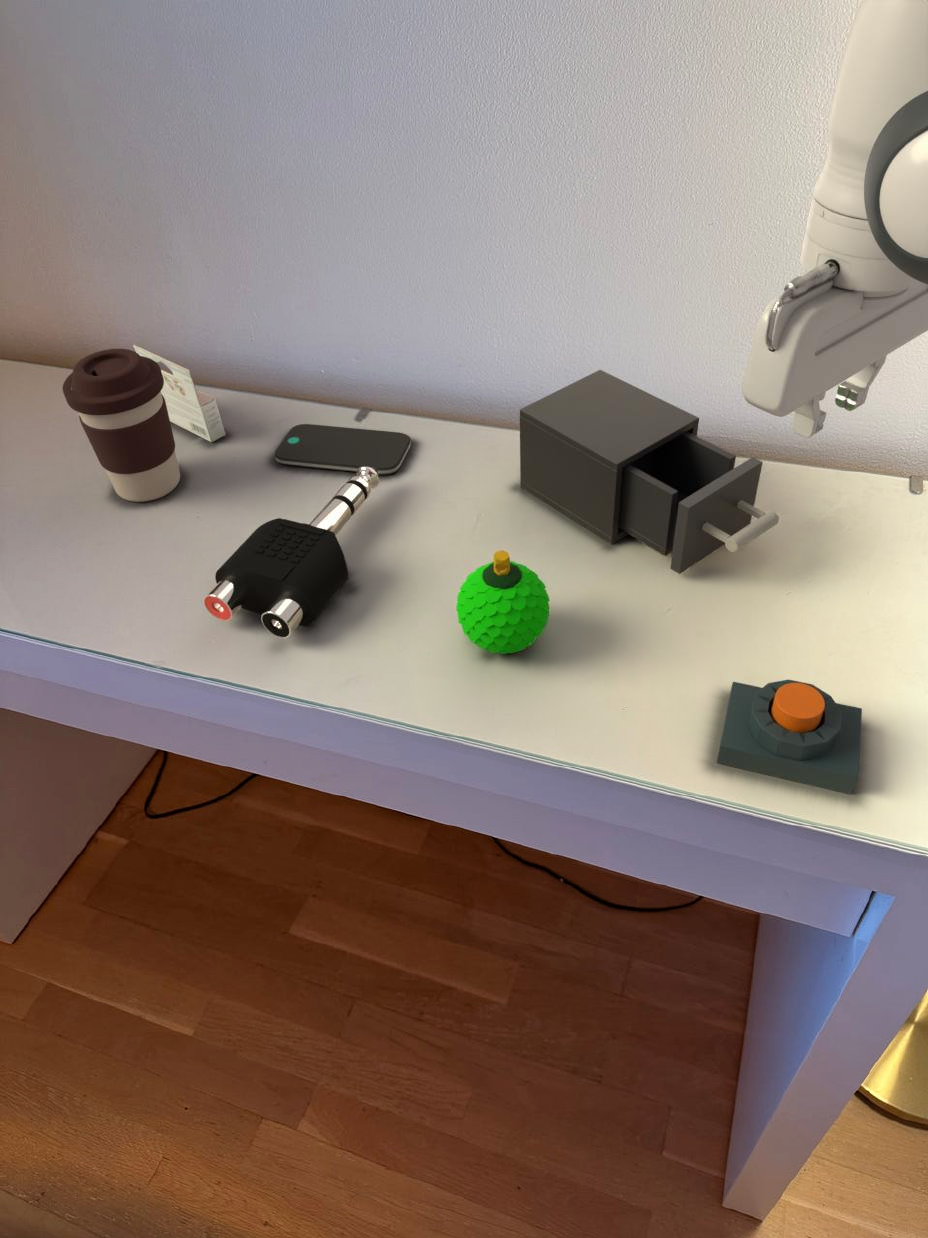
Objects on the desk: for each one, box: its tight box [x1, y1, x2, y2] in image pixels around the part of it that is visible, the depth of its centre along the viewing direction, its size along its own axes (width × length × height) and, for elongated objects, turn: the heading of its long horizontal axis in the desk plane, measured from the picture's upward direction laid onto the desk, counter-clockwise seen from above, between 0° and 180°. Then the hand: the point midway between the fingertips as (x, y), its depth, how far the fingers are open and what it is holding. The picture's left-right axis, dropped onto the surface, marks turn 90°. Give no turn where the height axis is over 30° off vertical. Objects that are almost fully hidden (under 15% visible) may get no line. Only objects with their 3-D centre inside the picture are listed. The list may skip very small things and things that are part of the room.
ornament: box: [455, 549, 551, 655], centre depth 80 cm, size 8×8×10 cm
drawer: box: [618, 431, 780, 575], centre depth 90 cm, size 17×10×8 cm, turn 40°
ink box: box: [132, 344, 226, 443], centre depth 110 cm, size 2×11×10 cm, turn 50°
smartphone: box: [274, 423, 412, 475], centre depth 107 cm, size 8×1×15 cm
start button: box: [771, 683, 825, 733], centre depth 71 cm, size 4×4×2 cm
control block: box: [716, 679, 863, 795], centre depth 72 cm, size 10×7×4 cm
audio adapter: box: [203, 466, 380, 639], centre depth 92 cm, size 11×5×25 cm
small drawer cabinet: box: [519, 369, 700, 545], centre depth 96 cm, size 14×12×10 cm
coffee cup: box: [62, 348, 181, 503], centre depth 100 cm, size 10×10×15 cm
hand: (827, 418), depth 73 cm, fingers open, 4 cm apart
